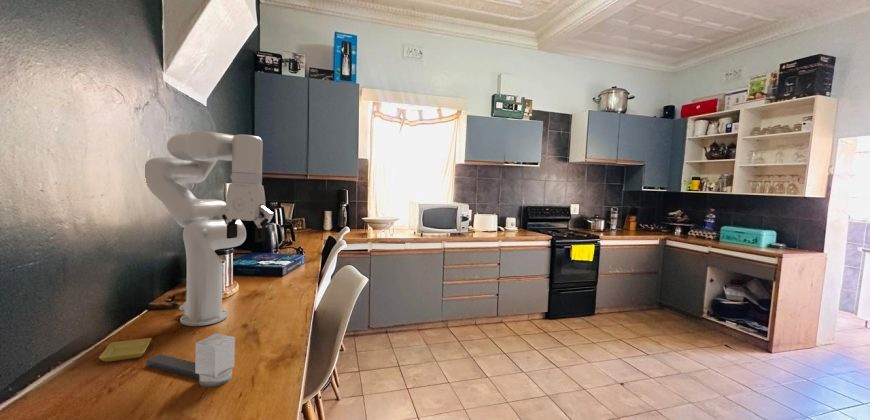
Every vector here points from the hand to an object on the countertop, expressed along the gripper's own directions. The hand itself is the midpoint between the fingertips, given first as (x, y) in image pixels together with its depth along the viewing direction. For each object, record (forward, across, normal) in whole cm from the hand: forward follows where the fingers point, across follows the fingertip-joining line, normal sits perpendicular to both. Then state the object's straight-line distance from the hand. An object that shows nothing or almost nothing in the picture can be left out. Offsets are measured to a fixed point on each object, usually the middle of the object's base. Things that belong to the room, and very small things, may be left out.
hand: (245, 239), depth 102 cm
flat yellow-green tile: (+29, -18, -19) cm, 39 cm away
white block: (+26, +11, -20) cm, 35 cm away
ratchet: (+28, +3, -20) cm, 35 cm away
